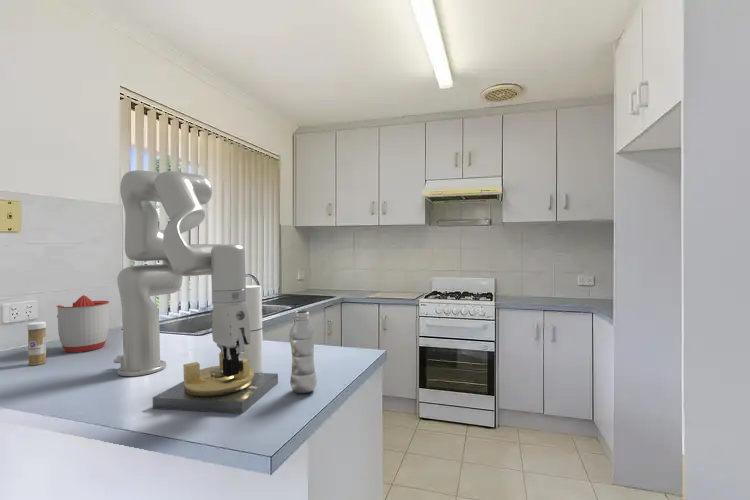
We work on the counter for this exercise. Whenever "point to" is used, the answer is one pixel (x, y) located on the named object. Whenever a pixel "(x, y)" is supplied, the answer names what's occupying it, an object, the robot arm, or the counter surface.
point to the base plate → (216, 397)
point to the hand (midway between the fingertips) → (231, 374)
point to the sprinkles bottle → (36, 343)
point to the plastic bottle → (302, 354)
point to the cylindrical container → (254, 329)
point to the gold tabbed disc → (216, 379)
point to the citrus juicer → (83, 325)
